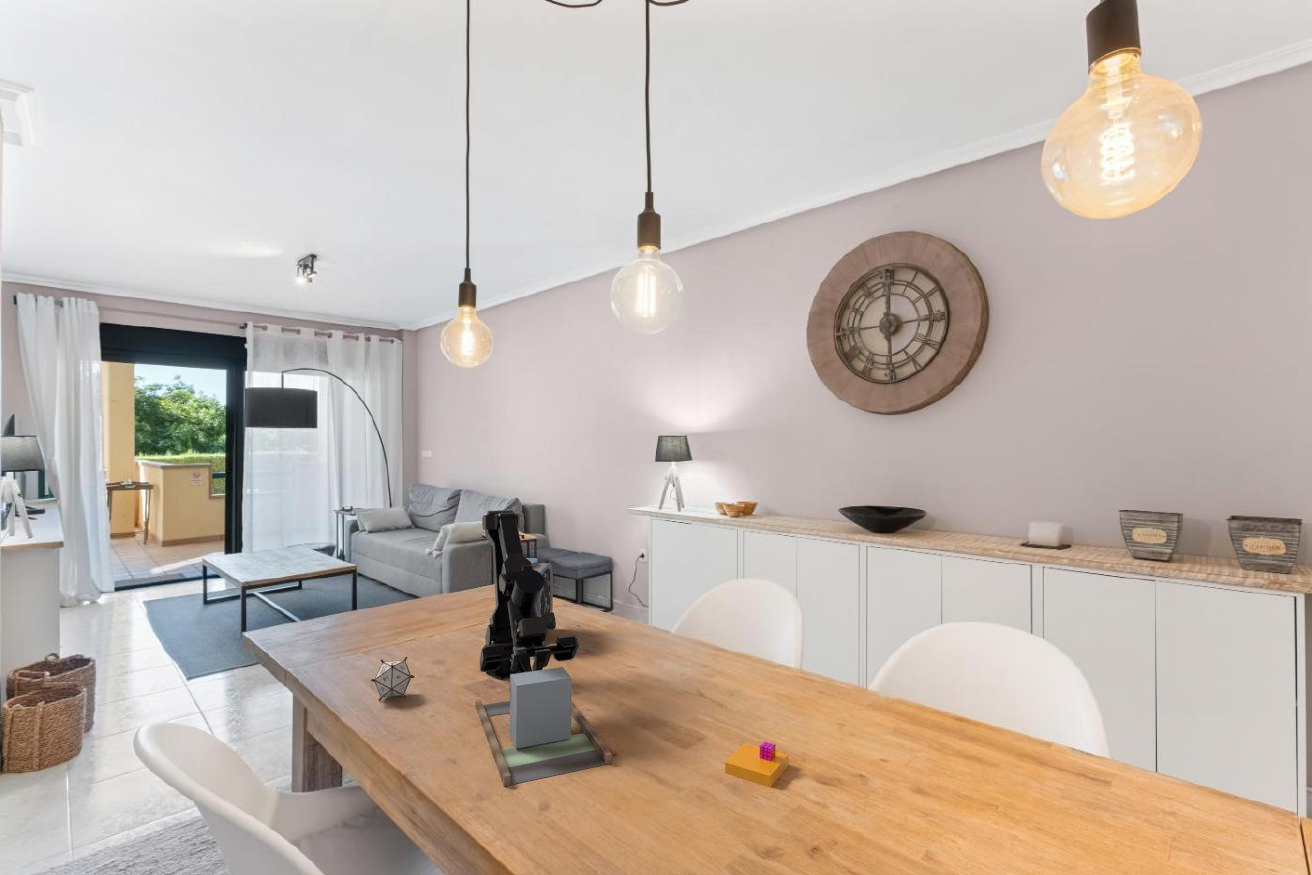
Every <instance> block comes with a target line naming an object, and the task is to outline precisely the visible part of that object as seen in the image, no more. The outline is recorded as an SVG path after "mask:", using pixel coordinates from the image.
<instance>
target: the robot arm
mask: <svg viewBox="0 0 1312 875" xmlns="http://www.w3.org/2000/svg"><path fill="white" fill-rule="evenodd" d="M520 517H521V516H520V513H516V512H514V511H513V509H503V510H502V509H501V510H498V509H497V510H487V513H486V514H484V515H482V521H481V523H482V524H481V525H482V526H481V528H482V530H483V531H484V535H485V536H484V537H485V539H486V540H487V541H488V543H489V544H490V546H491V547H492V558H493V578H494V595H495V596H494V598H495V607H494V610H493V611H492V613H491V616H490V617H489V624H487V629H486V632H485V639H484V640H485V645H483V647H482V648H481V651H480V656H479V670H480V672H482V673H486V674H487V675H490V676H492V677H496V678H498V679H500V680H505V679H506V678H509V677H510V674H517V673H524V672H531V671H538V670H544V668H546V667H548V665H549V662H550V659H551V657H552V655H553V659H554V660H555V661H557V662H559V663H560V662H564V661H565V662H566V661H571V660H573V659H575V656H576V654H577V651H578V649H579V646H580V644H579V640H578V638H577V637H576V635H574V634H567V635H558V636H557V637H556V640H555V642H554V643H549V644H544V642H546V639H547V636H546V635H547V634H548V631H553V630H555V629H556V628H557V621H556V616H555V613H554V612H553V611H552V612H551V613H545V614H544V615H543V617H538V612H537V607H536V604H538V603H539V600H540V597H541V593H542V590H543V587H544V583H545V579H544V577H543V576H542V574H541V573H540V572H538V571H536V570H533V566H532V563H531V561H529V560H528V559H527V558H528V557H526V556H525V555H524V550H523V545H522V541H521V535H520V531H519V529H520V527H521V525H520V524H521V522H520V520H521V519H520ZM531 658H533V660H534V661H533V664H532V665H531Z"/></svg>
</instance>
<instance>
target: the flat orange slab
mask: <svg viewBox="0 0 1312 875" xmlns="http://www.w3.org/2000/svg"><path fill="white" fill-rule="evenodd" d="M788 767H789V755H788V753H787V754H786V753H783V752H779V751H776V743H772V742H768V741H765V740H764V741H763V742H762V743H761V744H760V745H759V746H757V745H755V744H750V743H747V742H745V743H743V744H742V746H741V745H740V747H739V748H738V749H737V750H736V751H735V752H734V753H733V754H732V755H731V756H729V757H728V758H727V759H726V760H725V762H724V773H725V774H728V775H731V776H734V777H736V778H740V779H744V780H747V781H750V782H753V783H756V784H759V785H763V786H765V787H769V788H771V787H772V786H773V785H774V784H775V783H776V781H777V780H778V779H779V778H780V777H781V775H782V774H783V773H784V772H785V771H786V769H787V768H788Z"/></svg>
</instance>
